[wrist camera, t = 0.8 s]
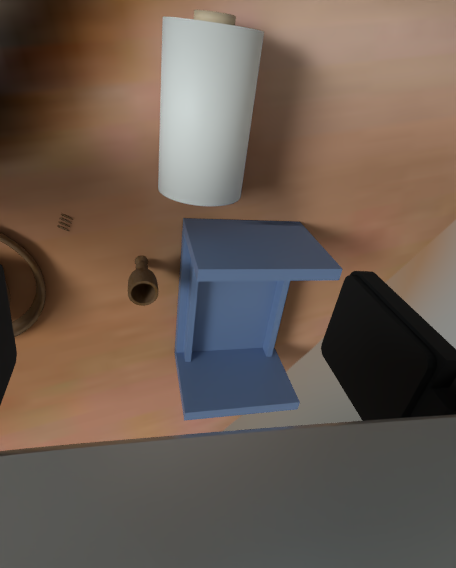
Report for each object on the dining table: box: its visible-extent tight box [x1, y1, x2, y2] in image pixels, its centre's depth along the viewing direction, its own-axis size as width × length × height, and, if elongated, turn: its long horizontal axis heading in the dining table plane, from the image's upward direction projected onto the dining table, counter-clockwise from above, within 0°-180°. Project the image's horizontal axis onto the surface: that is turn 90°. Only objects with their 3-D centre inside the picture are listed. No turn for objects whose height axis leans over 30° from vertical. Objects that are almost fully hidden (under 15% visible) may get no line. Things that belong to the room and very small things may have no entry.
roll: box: [158, 10, 264, 206], centre depth 27 cm, size 12×6×6 cm, turn 173°
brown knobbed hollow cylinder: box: [0, 214, 158, 337], centre depth 33 cm, size 18×20×6 cm
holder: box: [175, 218, 342, 420], centre depth 36 cm, size 16×11×9 cm
